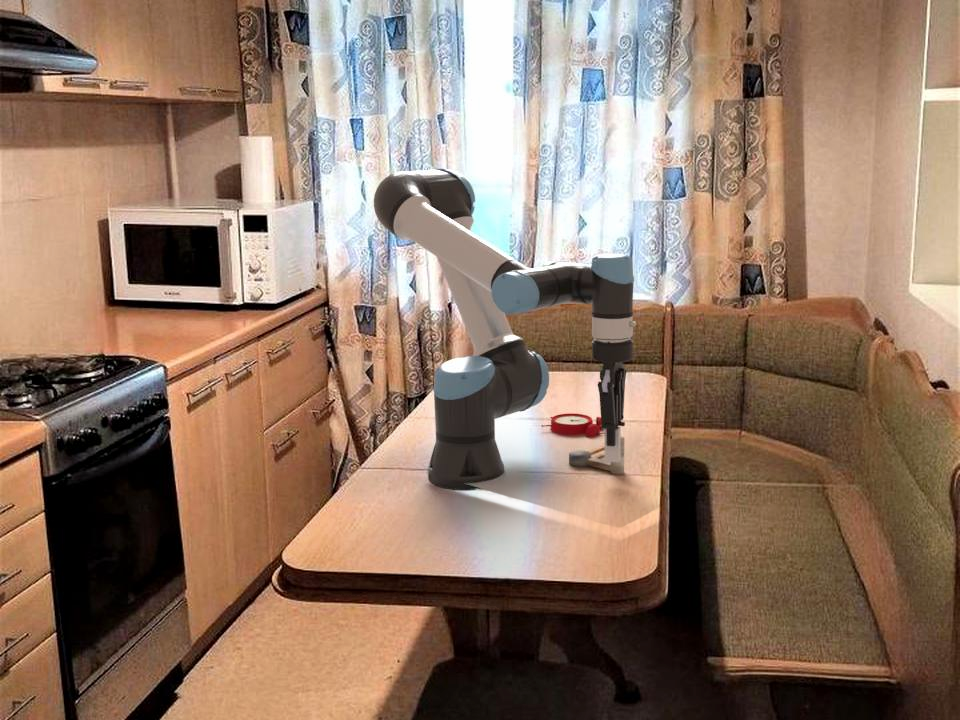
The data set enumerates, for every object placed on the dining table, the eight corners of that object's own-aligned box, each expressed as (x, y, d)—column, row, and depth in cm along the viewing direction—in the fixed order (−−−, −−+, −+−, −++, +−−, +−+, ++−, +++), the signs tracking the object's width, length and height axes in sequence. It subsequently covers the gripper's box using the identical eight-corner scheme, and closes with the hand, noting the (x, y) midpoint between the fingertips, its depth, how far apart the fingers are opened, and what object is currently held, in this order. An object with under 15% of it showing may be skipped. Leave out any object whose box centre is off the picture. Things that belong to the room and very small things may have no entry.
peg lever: (564, 463, 205) (564, 430, 203) (594, 451, 213) (595, 418, 211) (616, 476, 197) (616, 441, 195) (646, 463, 204) (646, 429, 203)
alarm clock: (550, 412, 235) (613, 402, 230) (556, 438, 236) (619, 429, 230) (537, 424, 226) (602, 415, 220) (543, 451, 227) (608, 442, 221)
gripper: (624, 346, 181) (624, 473, 186) (640, 332, 193) (639, 452, 198) (583, 344, 184) (584, 469, 189) (601, 331, 196) (601, 449, 201)
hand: (612, 460), depth 194 cm, fingers closed
